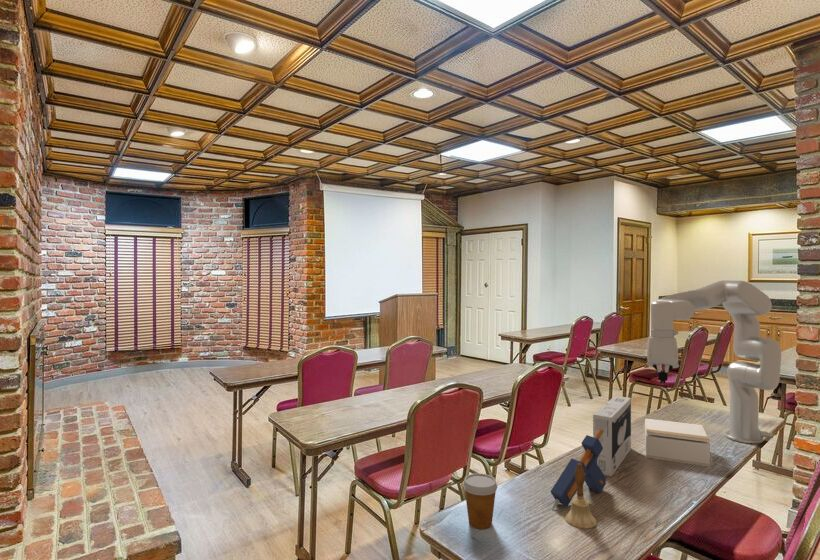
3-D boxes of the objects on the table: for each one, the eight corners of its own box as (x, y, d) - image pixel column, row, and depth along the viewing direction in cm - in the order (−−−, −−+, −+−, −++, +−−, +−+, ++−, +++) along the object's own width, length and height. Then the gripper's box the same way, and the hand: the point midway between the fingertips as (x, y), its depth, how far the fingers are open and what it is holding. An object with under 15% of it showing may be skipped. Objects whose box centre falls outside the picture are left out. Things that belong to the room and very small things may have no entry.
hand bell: (576, 530, 122) (576, 471, 122) (559, 514, 131) (559, 459, 130) (603, 526, 124) (603, 468, 124) (584, 511, 132) (584, 456, 132)
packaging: (611, 476, 155) (611, 417, 154) (592, 471, 158) (592, 414, 158) (631, 448, 179) (631, 397, 179) (614, 445, 183) (614, 395, 182)
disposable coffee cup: (504, 522, 127) (504, 479, 127) (485, 537, 120) (485, 491, 120) (475, 510, 133) (475, 469, 133) (456, 524, 126) (455, 480, 126)
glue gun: (562, 533, 139) (543, 502, 134) (601, 453, 155) (586, 422, 150) (581, 541, 134) (562, 509, 129) (619, 457, 150) (603, 426, 145)
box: (702, 449, 178) (702, 428, 178) (709, 466, 162) (709, 444, 161) (644, 441, 186) (644, 421, 186) (646, 457, 170) (646, 436, 170)
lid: (701, 427, 178) (701, 424, 178) (709, 442, 161) (709, 439, 161) (645, 420, 186) (645, 417, 186) (646, 434, 170) (646, 431, 170)
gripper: (683, 333, 173) (684, 381, 173) (639, 331, 179) (640, 378, 179) (686, 336, 166) (687, 386, 166) (640, 334, 172) (641, 383, 172)
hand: (662, 382), depth 173 cm, fingers closed
